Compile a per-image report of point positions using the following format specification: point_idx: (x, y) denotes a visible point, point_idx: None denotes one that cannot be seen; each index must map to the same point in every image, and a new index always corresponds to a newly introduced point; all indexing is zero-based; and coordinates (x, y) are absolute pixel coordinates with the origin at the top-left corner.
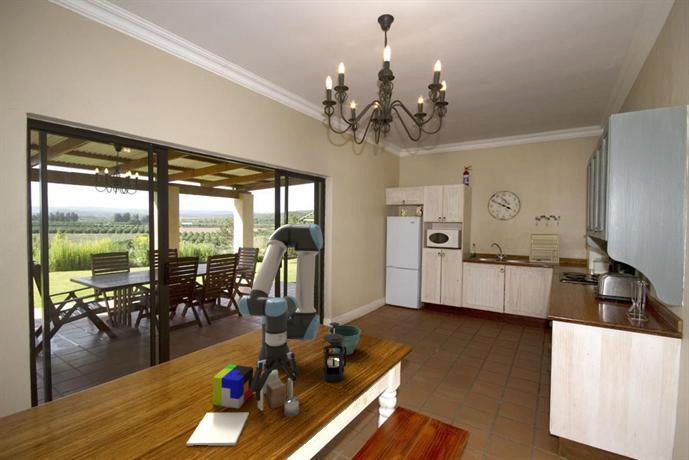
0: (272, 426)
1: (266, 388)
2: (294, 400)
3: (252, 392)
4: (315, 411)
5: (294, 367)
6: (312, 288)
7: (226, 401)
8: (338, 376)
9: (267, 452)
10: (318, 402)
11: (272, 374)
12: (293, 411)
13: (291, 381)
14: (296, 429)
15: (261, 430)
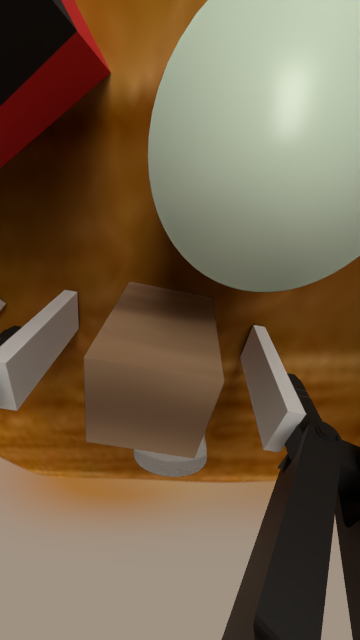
0: (72, 415)
1: (101, 328)
2: (181, 462)
3: (103, 74)
4: (235, 454)
5: (354, 616)
6: None
7: None
8: None
9: (19, 462)
10: None
11: (254, 255)
12: None
13: (265, 449)
14: (128, 461)
15: (30, 405)
